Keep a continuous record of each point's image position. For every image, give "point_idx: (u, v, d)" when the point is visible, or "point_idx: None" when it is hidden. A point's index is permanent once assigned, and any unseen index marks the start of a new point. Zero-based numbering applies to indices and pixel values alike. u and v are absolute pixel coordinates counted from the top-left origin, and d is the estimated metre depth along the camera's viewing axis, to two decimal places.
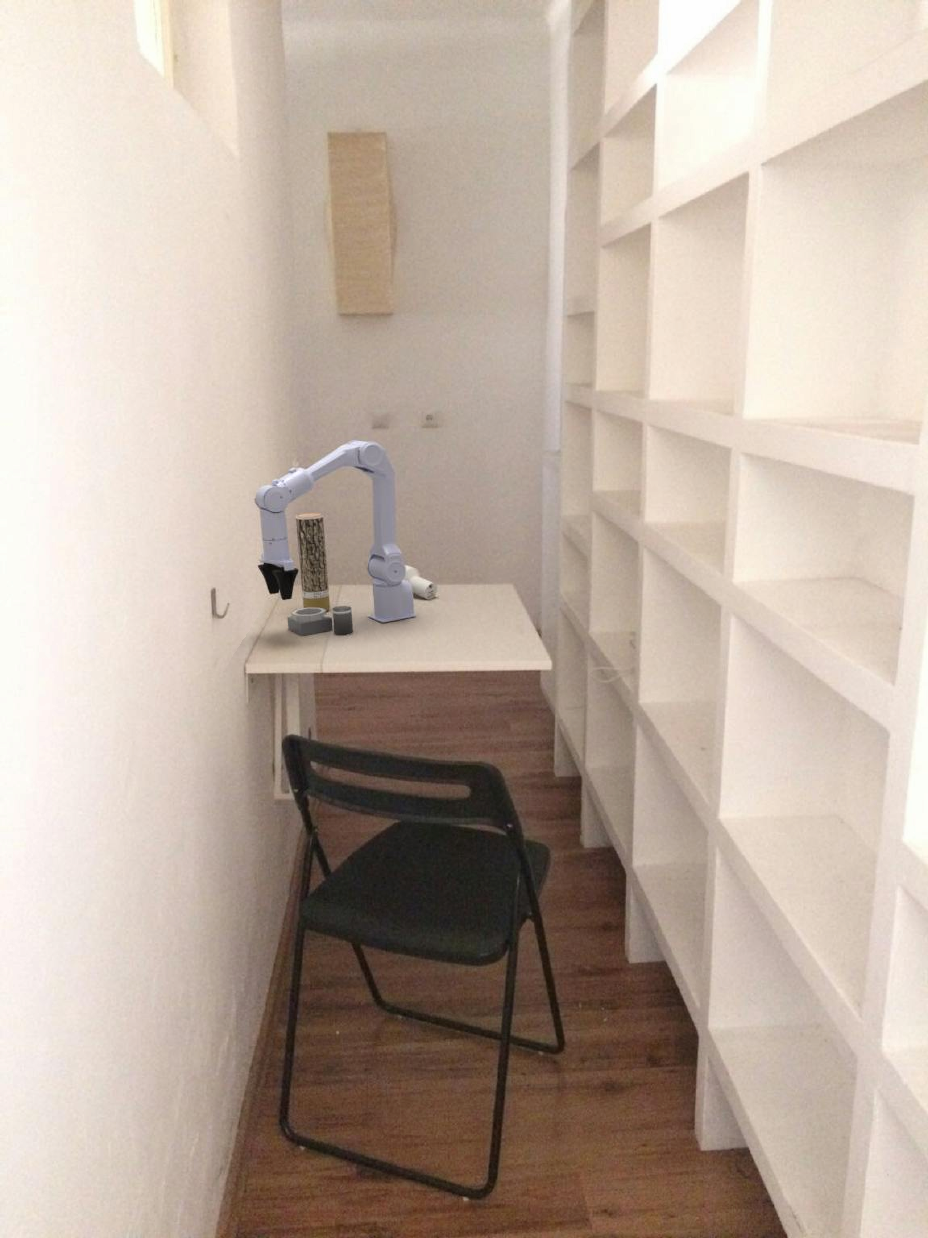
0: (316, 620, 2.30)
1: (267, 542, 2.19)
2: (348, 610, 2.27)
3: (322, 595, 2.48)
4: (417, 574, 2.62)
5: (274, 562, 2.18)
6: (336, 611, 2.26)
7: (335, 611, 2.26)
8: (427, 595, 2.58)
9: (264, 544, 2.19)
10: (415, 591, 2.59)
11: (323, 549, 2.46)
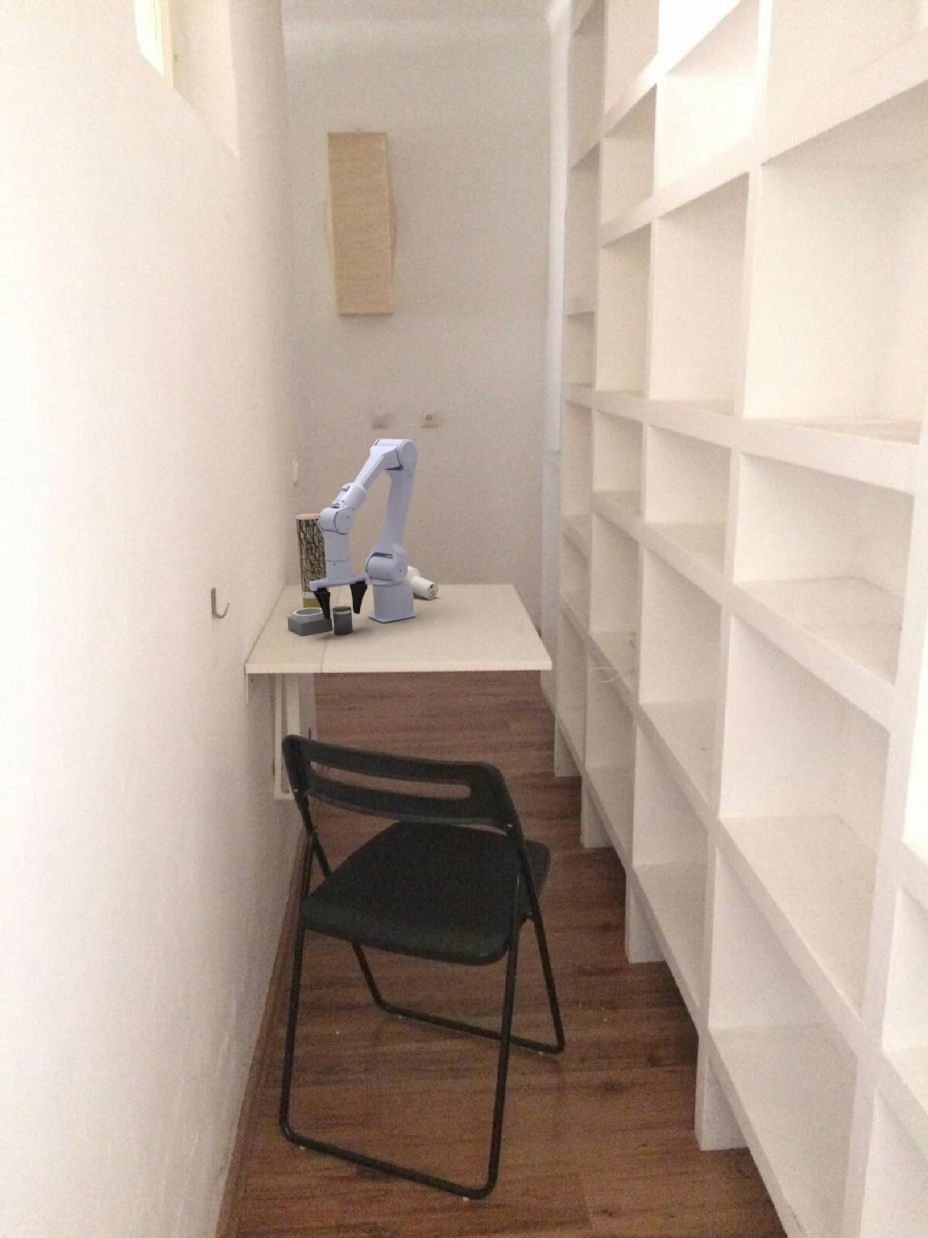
0: (316, 620, 2.30)
1: None
2: (348, 610, 2.27)
3: None
4: (418, 574, 2.62)
5: None
6: (336, 611, 2.26)
7: (335, 611, 2.26)
8: (428, 595, 2.58)
9: None
10: (416, 591, 2.59)
11: (323, 549, 2.46)
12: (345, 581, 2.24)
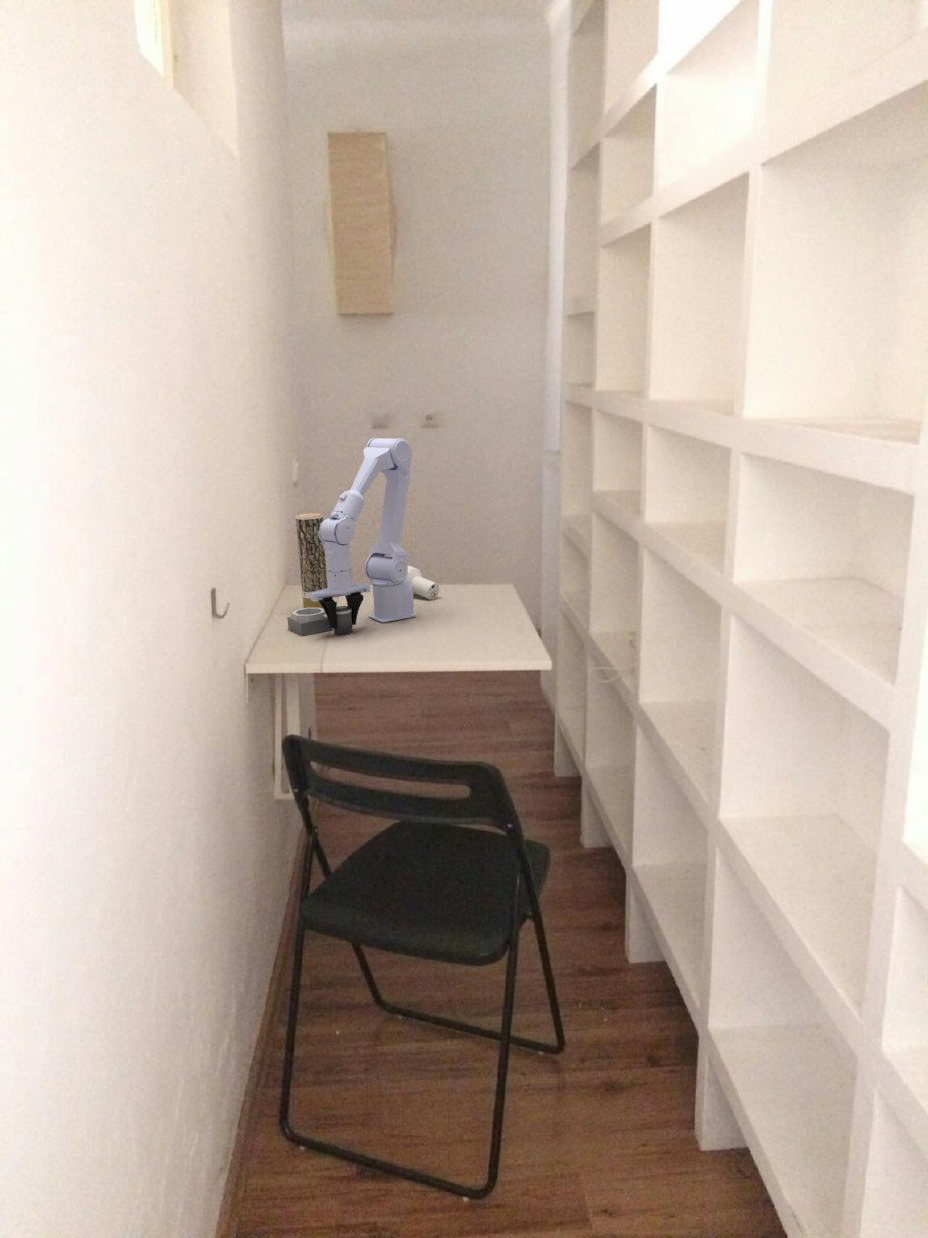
0: (316, 620, 2.30)
1: None
2: (348, 610, 2.27)
3: None
4: (419, 574, 2.62)
5: None
6: (336, 611, 2.26)
7: None
8: (429, 595, 2.57)
9: None
10: (417, 591, 2.59)
11: (323, 549, 2.46)
12: (346, 592, 2.24)
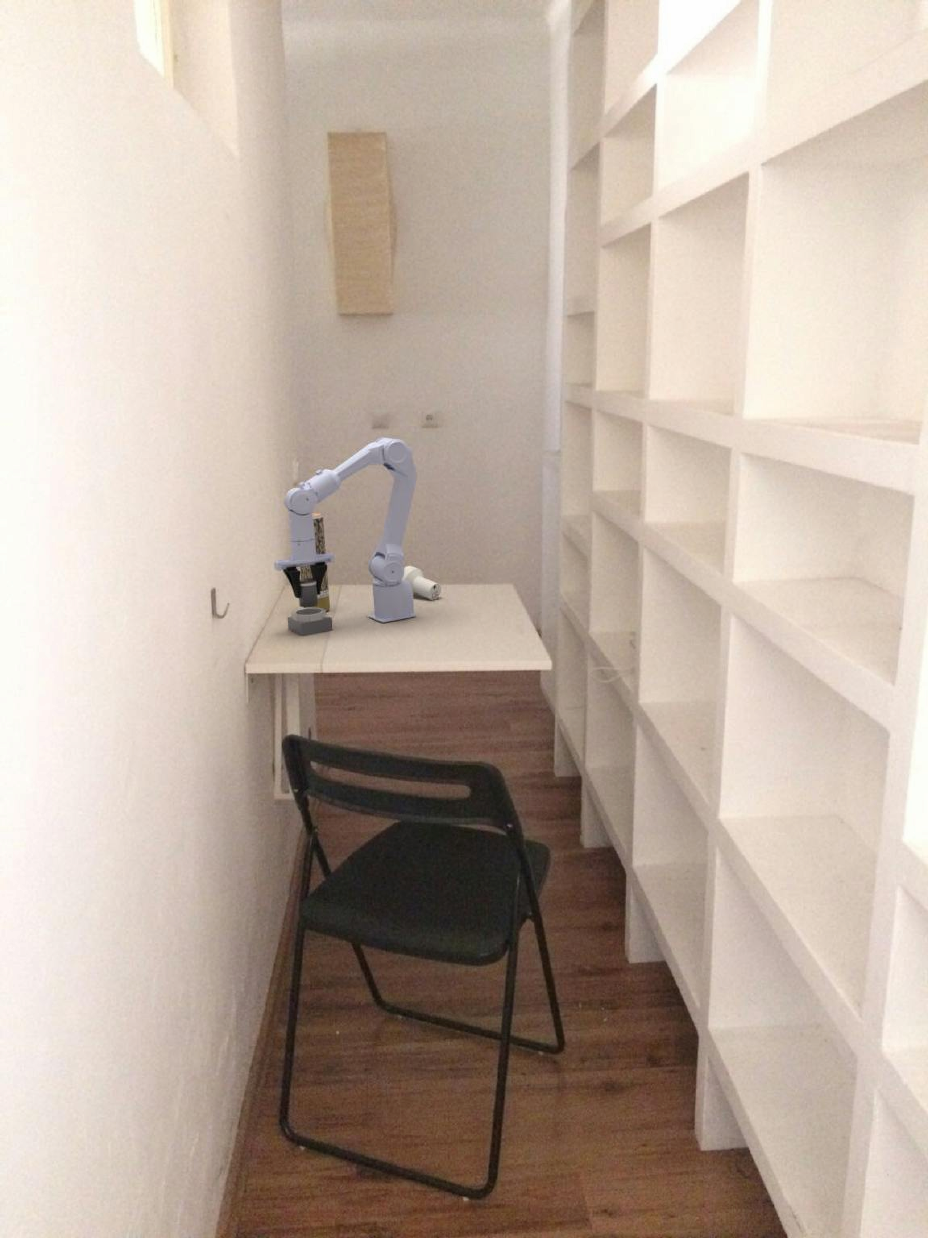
0: (316, 620, 2.30)
1: None
2: (313, 582, 2.29)
3: (322, 595, 2.48)
4: (421, 575, 2.61)
5: None
6: (301, 583, 2.28)
7: (300, 583, 2.28)
8: (431, 596, 2.57)
9: None
10: (419, 592, 2.58)
11: (323, 549, 2.46)
12: (309, 561, 2.27)
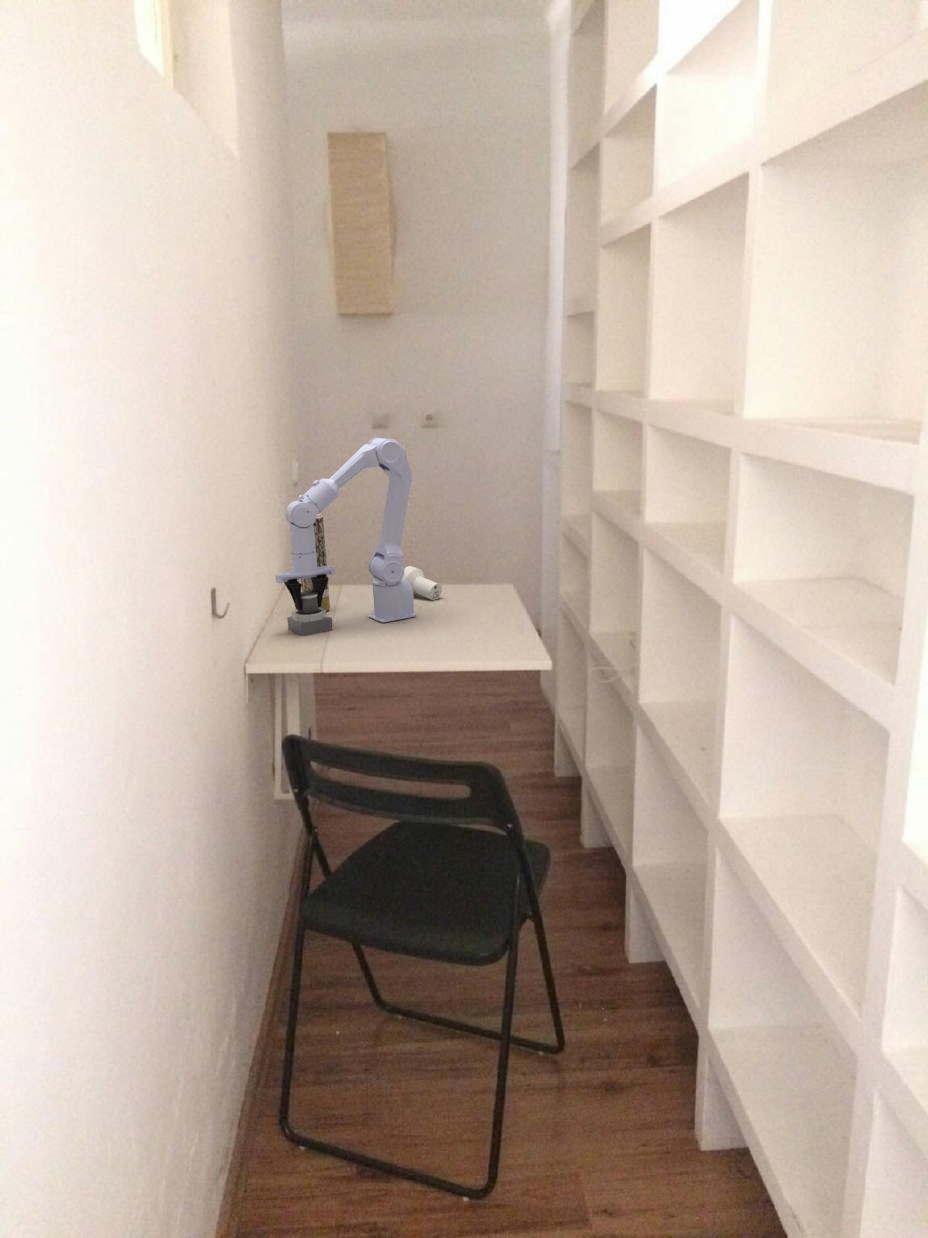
0: (316, 620, 2.30)
1: None
2: (314, 594, 2.30)
3: None
4: (422, 575, 2.61)
5: None
6: (302, 595, 2.29)
7: (301, 595, 2.29)
8: (432, 596, 2.57)
9: None
10: (420, 592, 2.58)
11: (323, 549, 2.46)
12: (311, 573, 2.27)
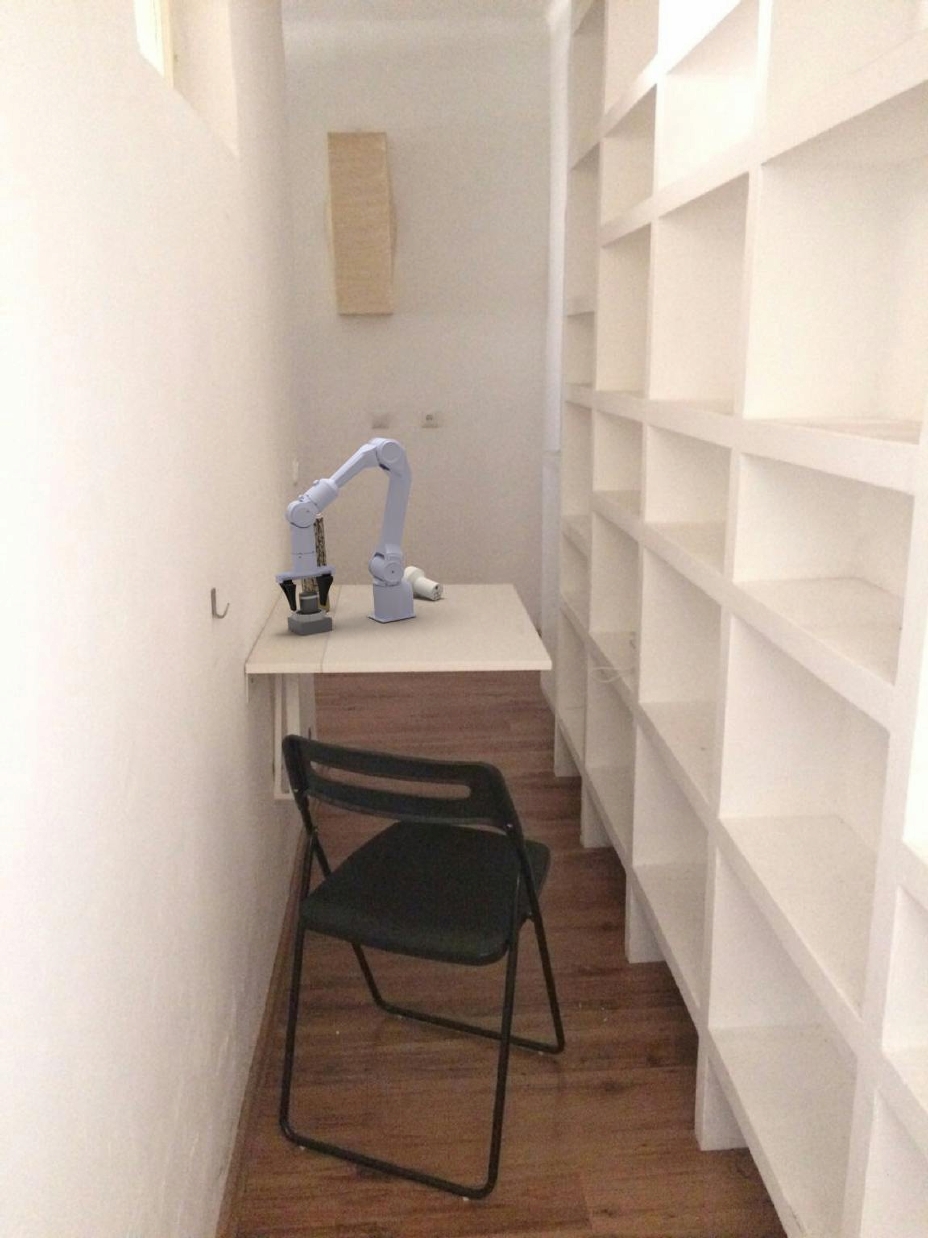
0: (316, 620, 2.30)
1: None
2: (314, 595, 2.30)
3: None
4: (423, 575, 2.61)
5: None
6: (303, 596, 2.29)
7: (301, 596, 2.29)
8: (433, 596, 2.56)
9: None
10: (421, 592, 2.58)
11: (323, 549, 2.46)
12: (311, 573, 2.27)
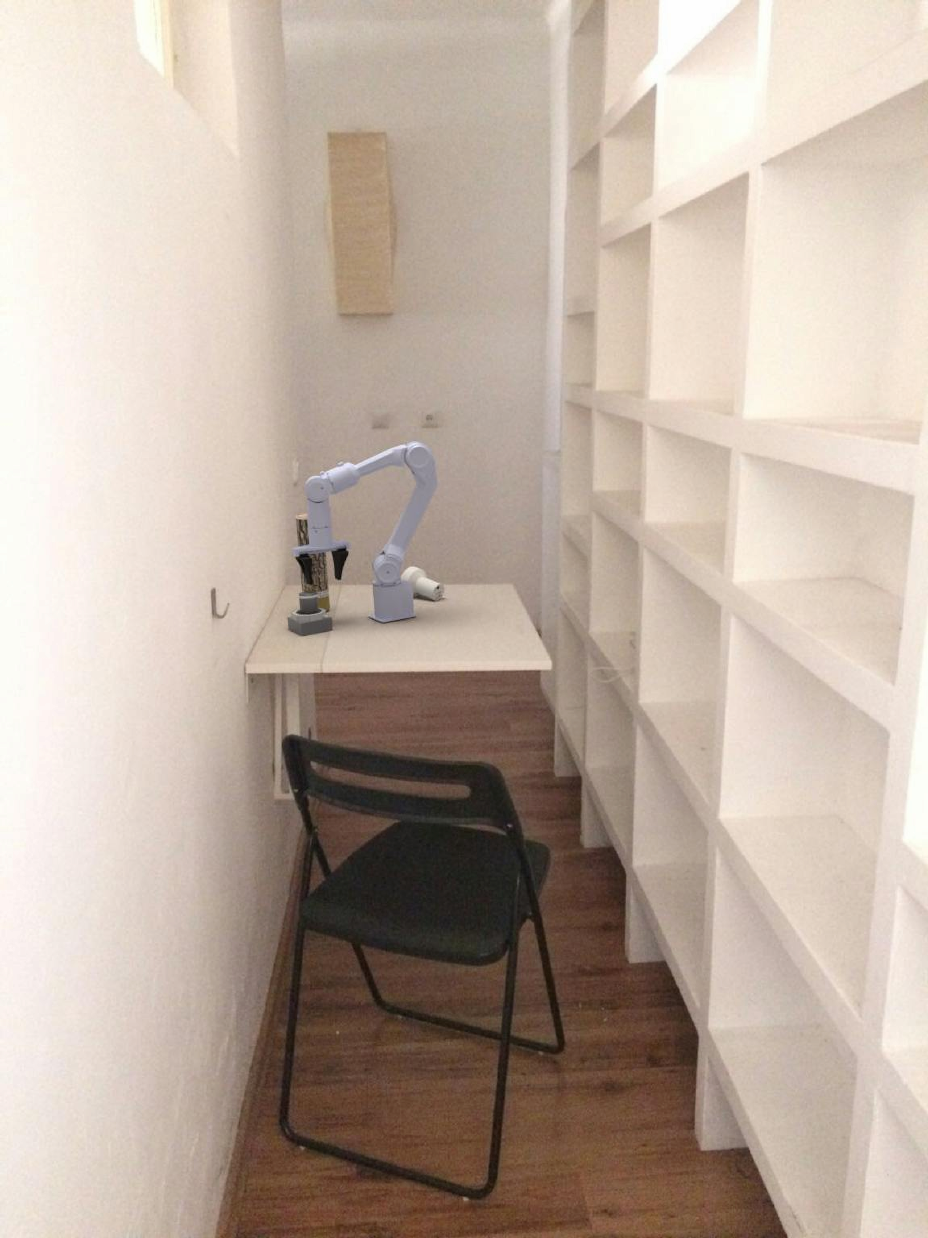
0: (316, 620, 2.30)
1: None
2: (314, 595, 2.30)
3: (322, 595, 2.48)
4: (424, 575, 2.61)
5: None
6: (302, 596, 2.29)
7: (301, 596, 2.29)
8: (434, 596, 2.56)
9: None
10: (422, 592, 2.57)
11: None
12: (326, 547, 2.32)
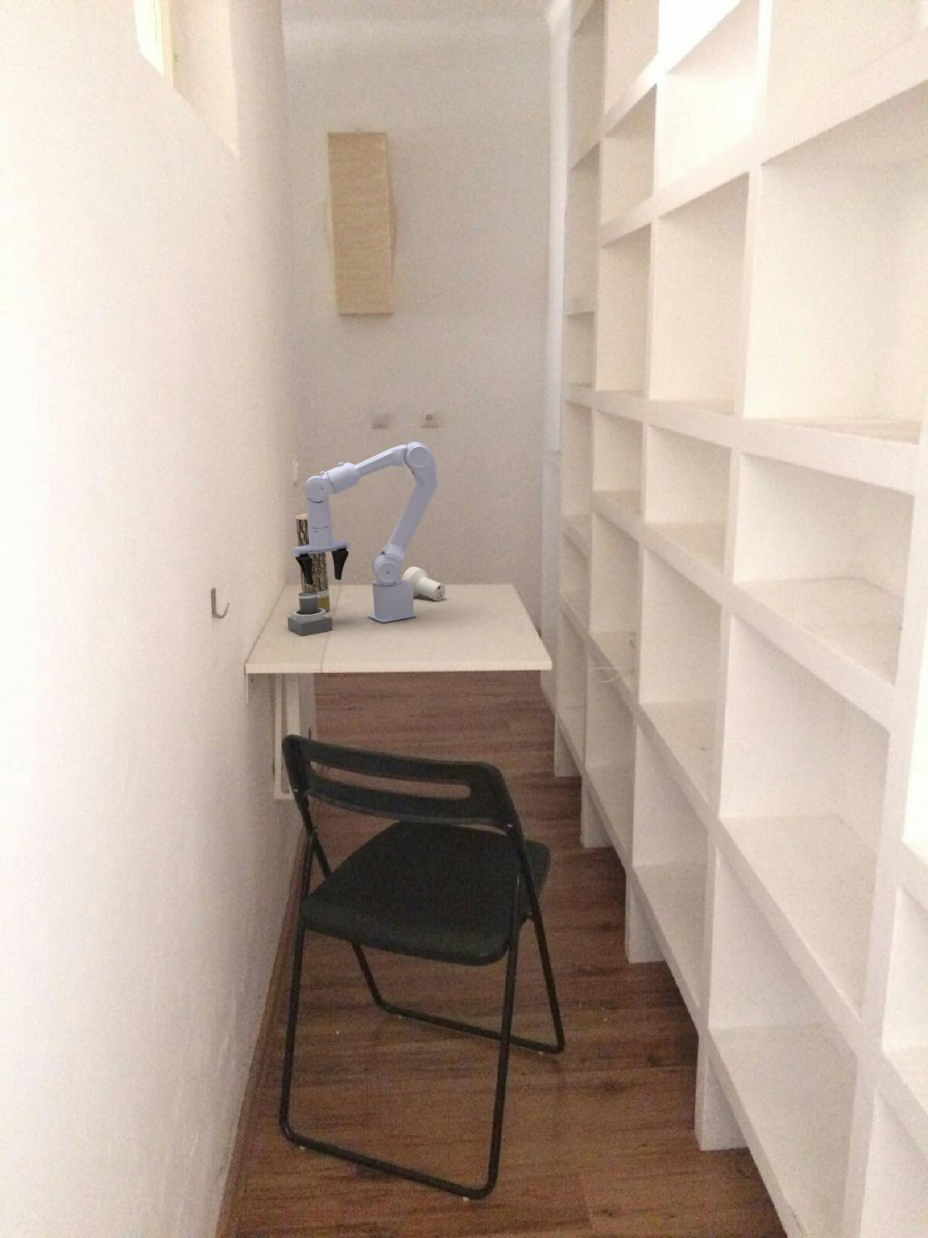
0: (316, 620, 2.30)
1: None
2: (314, 595, 2.30)
3: (322, 595, 2.48)
4: (425, 575, 2.60)
5: None
6: (302, 596, 2.29)
7: (301, 596, 2.29)
8: (436, 596, 2.56)
9: None
10: (423, 592, 2.57)
11: None
12: (326, 547, 2.32)
